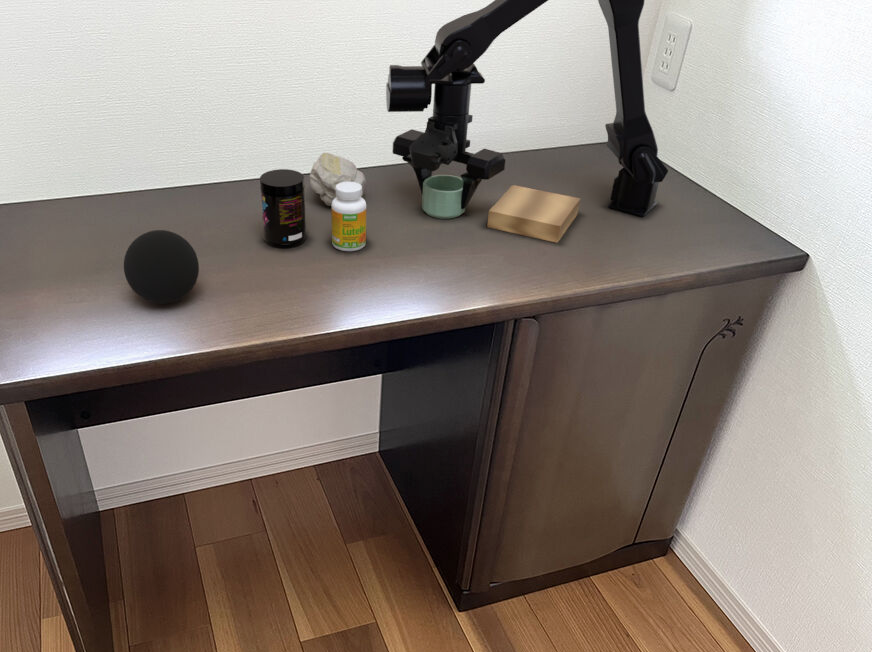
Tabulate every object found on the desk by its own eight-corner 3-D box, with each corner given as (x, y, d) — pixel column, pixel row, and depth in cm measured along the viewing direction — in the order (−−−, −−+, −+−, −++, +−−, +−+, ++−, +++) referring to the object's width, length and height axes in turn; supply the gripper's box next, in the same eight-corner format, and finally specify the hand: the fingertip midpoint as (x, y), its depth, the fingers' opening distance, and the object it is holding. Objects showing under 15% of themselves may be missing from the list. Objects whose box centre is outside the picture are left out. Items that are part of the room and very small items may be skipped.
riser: (577, 214, 136) (580, 198, 134) (557, 243, 128) (560, 226, 126) (510, 200, 141) (512, 184, 139) (486, 227, 132) (488, 210, 130)
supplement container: (288, 226, 131) (285, 165, 125) (315, 240, 127) (313, 178, 121) (255, 238, 128) (250, 176, 121) (281, 253, 124) (277, 190, 117)
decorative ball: (216, 299, 113) (209, 234, 107) (155, 325, 107) (143, 259, 101) (176, 273, 118) (167, 211, 112) (116, 297, 113) (103, 233, 107)
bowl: (473, 209, 138) (475, 181, 135) (450, 224, 133) (452, 195, 130) (437, 198, 141) (439, 171, 138) (413, 212, 136) (415, 184, 133)
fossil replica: (350, 184, 146) (300, 198, 143) (344, 139, 141) (293, 152, 138) (380, 204, 137) (328, 219, 134) (376, 157, 132) (321, 171, 129)
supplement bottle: (341, 255, 124) (340, 196, 118) (326, 240, 127) (325, 183, 121) (371, 248, 126) (372, 189, 120) (356, 234, 129) (356, 177, 124)
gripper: (373, 111, 126) (372, 203, 135) (475, 137, 117) (466, 234, 126) (413, 94, 133) (409, 183, 142) (512, 117, 124) (500, 210, 134)
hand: (444, 202), depth 136 cm, fingers closed on bowl, 7 cm apart
